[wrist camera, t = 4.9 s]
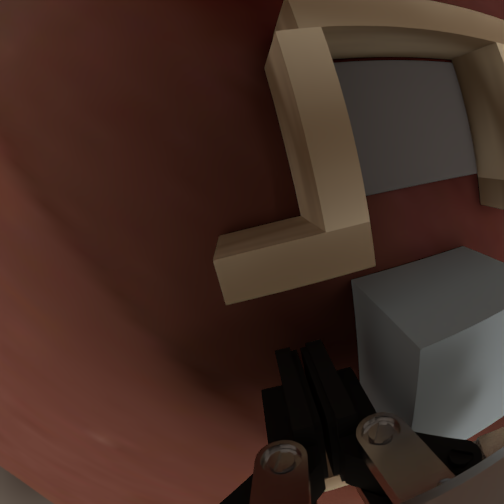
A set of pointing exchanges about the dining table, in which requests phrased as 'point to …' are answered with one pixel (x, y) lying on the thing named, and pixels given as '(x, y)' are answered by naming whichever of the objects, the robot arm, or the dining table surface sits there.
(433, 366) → the slate block
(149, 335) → the dining table surface
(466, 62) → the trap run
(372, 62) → the pads
